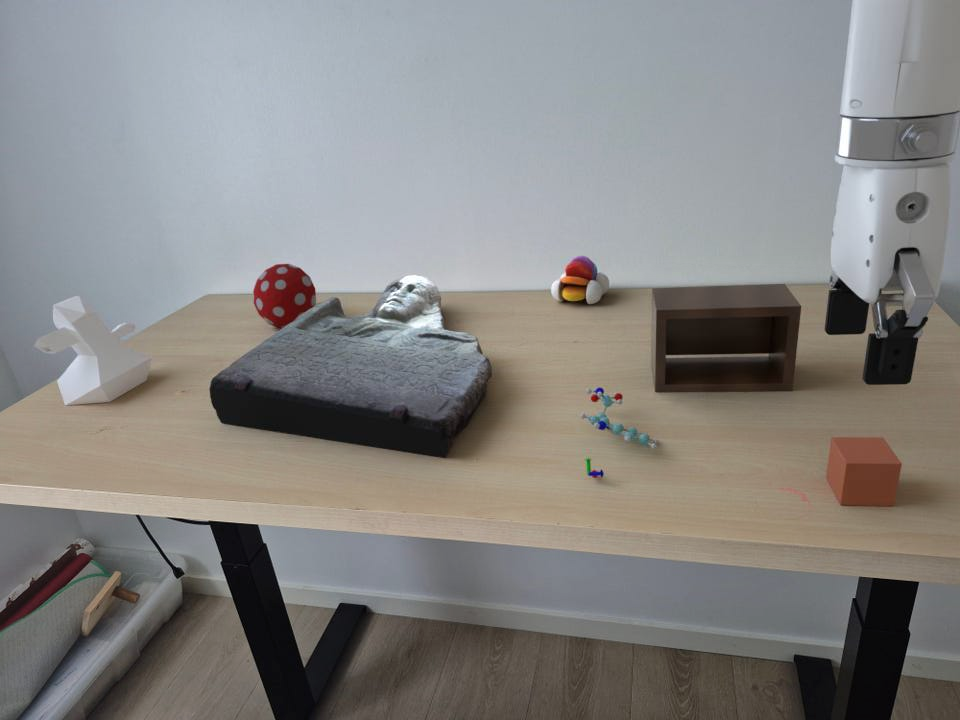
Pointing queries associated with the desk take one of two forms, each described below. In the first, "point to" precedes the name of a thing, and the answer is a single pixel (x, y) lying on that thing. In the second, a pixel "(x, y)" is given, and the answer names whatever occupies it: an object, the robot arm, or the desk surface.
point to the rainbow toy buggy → (580, 282)
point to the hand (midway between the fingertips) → (863, 356)
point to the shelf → (724, 338)
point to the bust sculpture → (362, 375)
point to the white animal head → (93, 355)
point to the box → (863, 471)
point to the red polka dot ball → (283, 294)
